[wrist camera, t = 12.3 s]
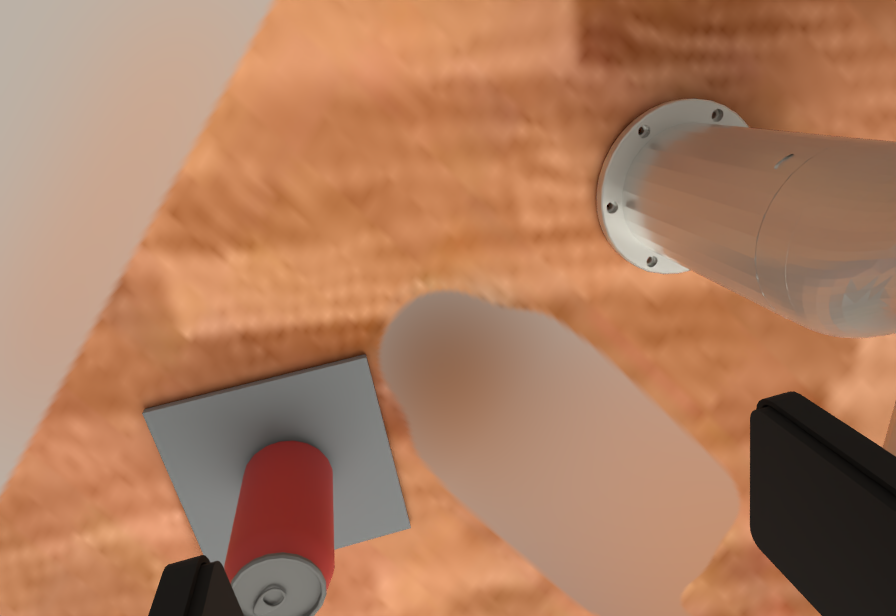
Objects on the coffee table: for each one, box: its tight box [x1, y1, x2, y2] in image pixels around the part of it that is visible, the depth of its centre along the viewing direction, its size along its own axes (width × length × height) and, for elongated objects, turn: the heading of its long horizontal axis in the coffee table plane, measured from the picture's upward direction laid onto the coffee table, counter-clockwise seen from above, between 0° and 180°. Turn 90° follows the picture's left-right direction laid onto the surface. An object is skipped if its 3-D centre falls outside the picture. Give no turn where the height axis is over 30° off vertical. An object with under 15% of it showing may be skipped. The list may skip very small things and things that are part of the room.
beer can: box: [224, 441, 335, 616], centre depth 41 cm, size 7×7×12 cm
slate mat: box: [142, 354, 411, 570], centre depth 47 cm, size 16×16×1 cm
